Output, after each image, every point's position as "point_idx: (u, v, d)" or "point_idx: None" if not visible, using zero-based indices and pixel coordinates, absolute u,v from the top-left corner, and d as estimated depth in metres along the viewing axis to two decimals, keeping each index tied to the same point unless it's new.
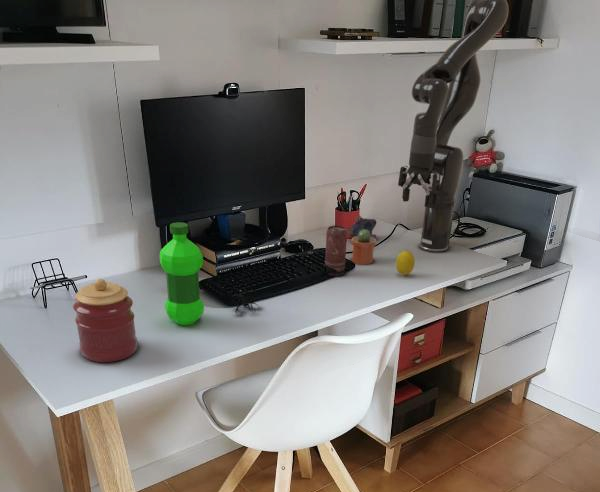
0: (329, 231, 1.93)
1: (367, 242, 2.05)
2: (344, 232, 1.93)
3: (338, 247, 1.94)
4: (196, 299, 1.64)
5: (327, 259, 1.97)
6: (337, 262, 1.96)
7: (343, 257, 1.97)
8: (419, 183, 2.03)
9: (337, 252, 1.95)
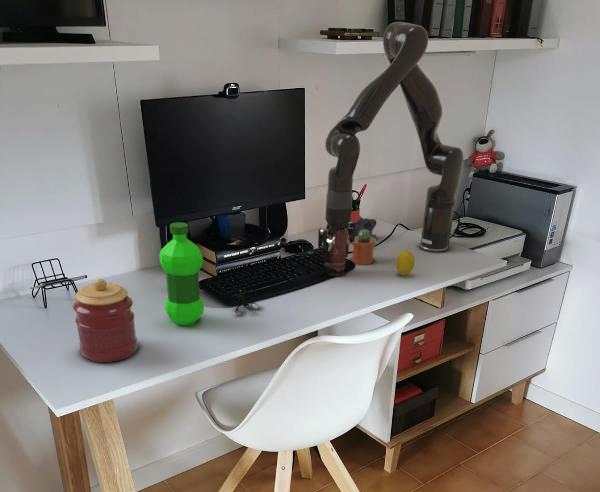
0: None
1: (367, 242, 2.05)
2: (344, 232, 1.93)
3: (338, 247, 1.94)
4: (196, 299, 1.64)
5: None
6: (337, 262, 1.96)
7: (343, 257, 1.97)
8: None
9: (337, 252, 1.95)
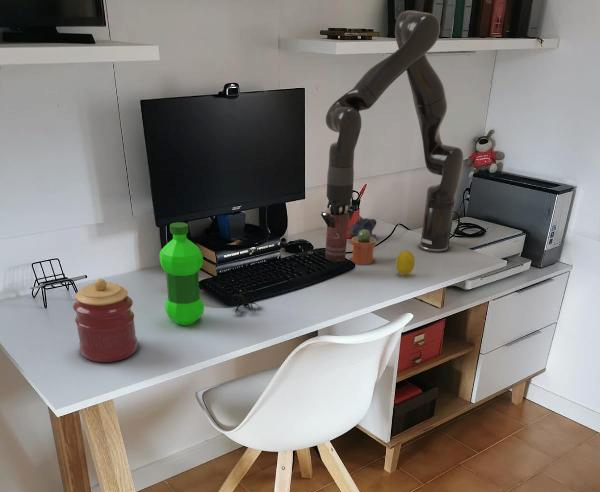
0: None
1: (367, 242, 2.05)
2: (346, 216, 1.90)
3: (340, 231, 1.92)
4: (196, 299, 1.64)
5: (328, 244, 1.95)
6: (338, 247, 1.94)
7: (344, 242, 1.94)
8: None
9: (338, 236, 1.92)
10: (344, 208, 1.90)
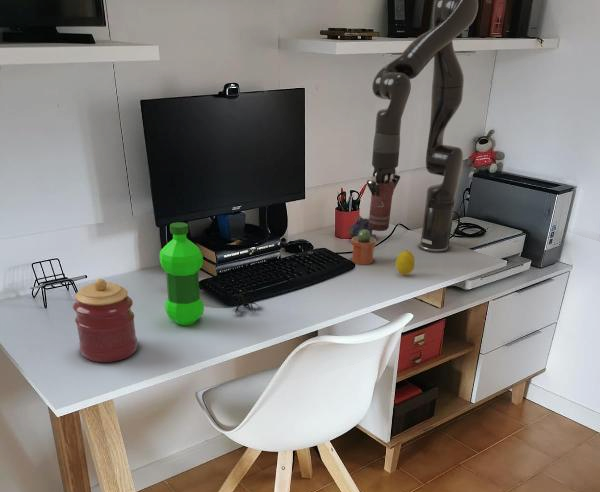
0: None
1: (367, 242, 2.05)
2: (391, 185, 1.90)
3: (384, 200, 1.91)
4: (196, 299, 1.64)
5: (372, 213, 1.95)
6: (382, 216, 1.94)
7: (388, 211, 1.94)
8: None
9: (382, 205, 1.92)
10: (389, 176, 1.90)
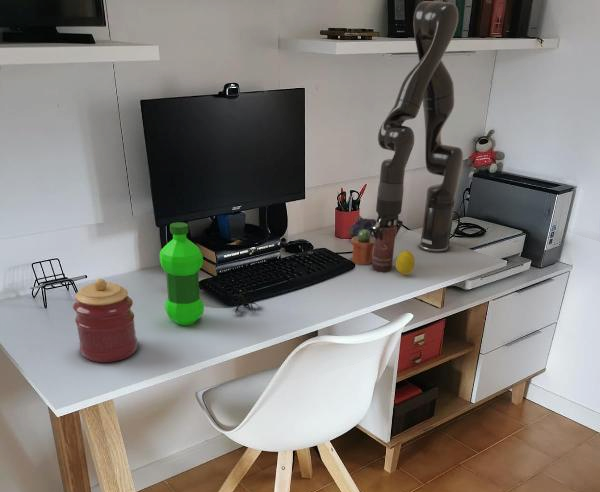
0: None
1: (367, 242, 2.05)
2: (393, 228, 1.97)
3: (387, 243, 1.99)
4: (196, 299, 1.64)
5: (375, 255, 2.02)
6: (386, 258, 2.01)
7: (391, 253, 2.01)
8: None
9: (386, 248, 1.99)
10: (392, 222, 1.98)
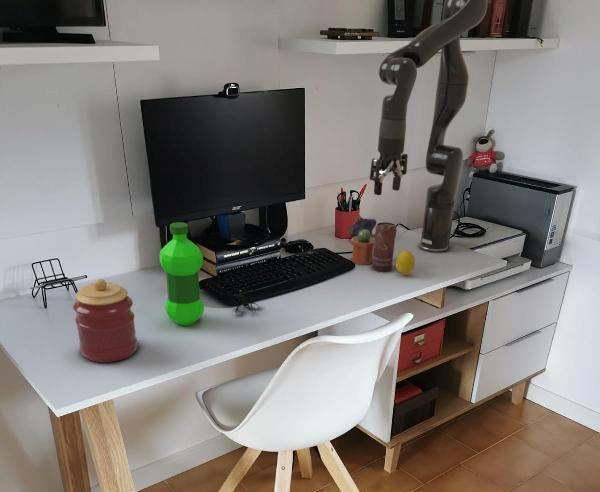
0: (379, 227, 1.97)
1: (367, 242, 2.05)
2: (393, 228, 1.97)
3: (387, 243, 1.99)
4: (196, 299, 1.64)
5: (375, 255, 2.02)
6: (386, 258, 2.01)
7: (391, 253, 2.01)
8: None
9: (386, 248, 1.99)
10: (395, 163, 1.92)
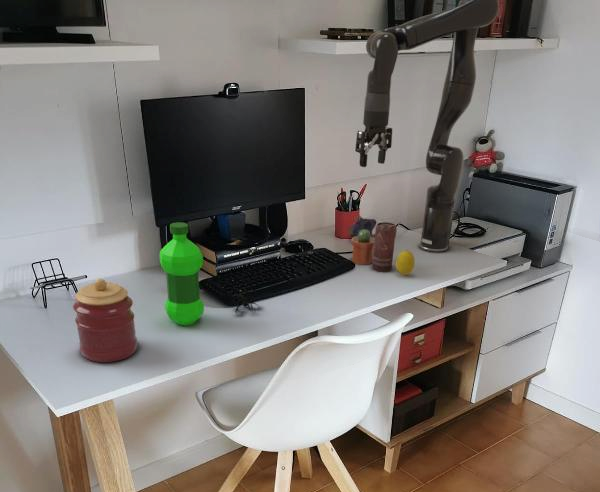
0: (379, 227, 1.97)
1: (367, 242, 2.05)
2: (393, 228, 1.97)
3: (387, 243, 1.99)
4: (196, 299, 1.64)
5: (375, 255, 2.02)
6: (386, 258, 2.01)
7: (391, 253, 2.01)
8: None
9: (386, 248, 1.99)
10: (380, 136, 1.99)
